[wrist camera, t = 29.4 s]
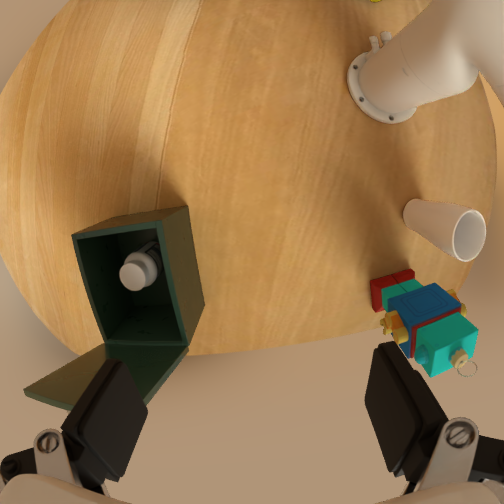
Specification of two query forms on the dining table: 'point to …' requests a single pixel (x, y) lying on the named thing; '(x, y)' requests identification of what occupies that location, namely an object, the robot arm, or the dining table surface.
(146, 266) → the pill bottle
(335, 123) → the dining table surface
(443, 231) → the drinking glass
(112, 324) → the box
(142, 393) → the lid
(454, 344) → the toy robot
